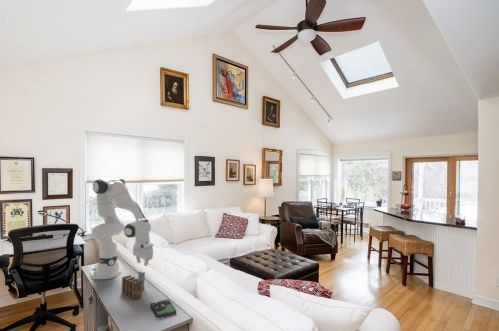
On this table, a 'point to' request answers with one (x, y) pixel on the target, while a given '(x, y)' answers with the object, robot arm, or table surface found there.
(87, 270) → the table surface
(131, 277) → the domino
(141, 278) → the end domino
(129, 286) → the domino
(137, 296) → the domino
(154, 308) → the disk drive
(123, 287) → the domino
